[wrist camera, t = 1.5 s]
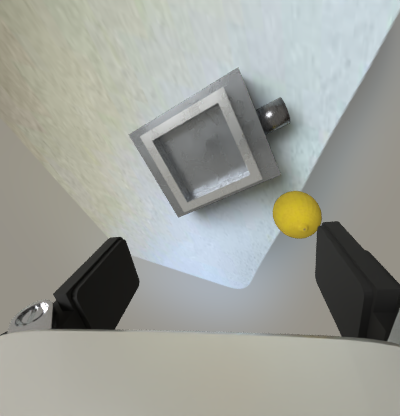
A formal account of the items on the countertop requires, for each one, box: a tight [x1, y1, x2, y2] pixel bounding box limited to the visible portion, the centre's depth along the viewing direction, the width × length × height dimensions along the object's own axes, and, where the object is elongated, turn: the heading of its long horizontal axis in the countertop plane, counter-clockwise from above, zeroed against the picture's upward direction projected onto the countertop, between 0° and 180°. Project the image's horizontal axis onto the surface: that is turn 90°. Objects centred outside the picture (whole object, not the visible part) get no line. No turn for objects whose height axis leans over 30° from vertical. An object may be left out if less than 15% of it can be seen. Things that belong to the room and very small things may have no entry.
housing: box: [129, 68, 290, 217], centre depth 26 cm, size 17×12×7 cm
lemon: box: [273, 191, 322, 238], centre depth 28 cm, size 6×6×8 cm
